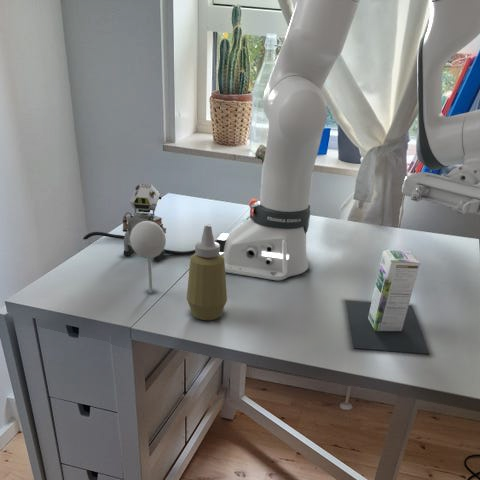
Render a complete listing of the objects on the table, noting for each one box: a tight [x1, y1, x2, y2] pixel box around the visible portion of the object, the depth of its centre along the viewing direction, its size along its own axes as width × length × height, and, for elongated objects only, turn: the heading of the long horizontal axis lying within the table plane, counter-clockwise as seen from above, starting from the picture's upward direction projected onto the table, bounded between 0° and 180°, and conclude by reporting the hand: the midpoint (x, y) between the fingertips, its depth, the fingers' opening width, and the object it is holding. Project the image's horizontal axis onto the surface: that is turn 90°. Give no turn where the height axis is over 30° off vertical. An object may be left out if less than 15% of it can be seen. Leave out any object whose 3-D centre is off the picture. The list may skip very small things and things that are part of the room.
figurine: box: [122, 183, 167, 262], centre depth 133 cm, size 9×12×15 cm
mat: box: [345, 300, 429, 355], centre depth 114 cm, size 14×20×1 cm
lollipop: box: [130, 221, 167, 294], centre depth 116 cm, size 7×7×15 cm
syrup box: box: [368, 249, 421, 331], centre depth 110 cm, size 6×6×14 cm
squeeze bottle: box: [186, 223, 228, 321], centre depth 109 cm, size 8×8×18 cm
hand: (437, 202), depth 108 cm, fingers open, 8 cm apart
